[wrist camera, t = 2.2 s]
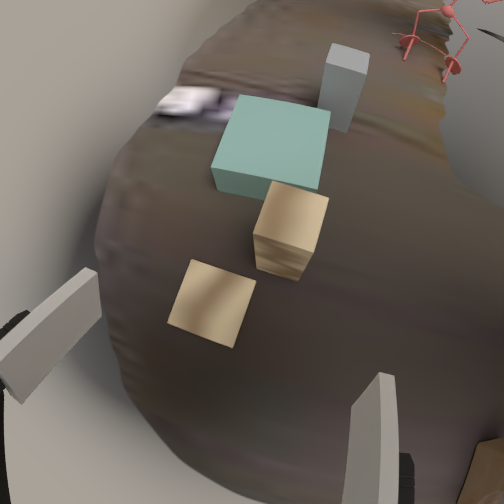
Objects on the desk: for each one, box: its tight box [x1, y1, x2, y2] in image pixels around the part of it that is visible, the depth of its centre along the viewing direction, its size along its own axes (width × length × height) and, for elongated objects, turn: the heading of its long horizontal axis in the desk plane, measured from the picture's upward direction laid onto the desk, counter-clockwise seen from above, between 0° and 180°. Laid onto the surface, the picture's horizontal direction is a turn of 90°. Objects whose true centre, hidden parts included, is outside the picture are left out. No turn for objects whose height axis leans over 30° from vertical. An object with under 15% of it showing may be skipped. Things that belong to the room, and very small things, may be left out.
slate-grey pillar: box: [317, 43, 370, 134], centre depth 36 cm, size 5×5×12 cm
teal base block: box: [211, 95, 331, 201], centre depth 37 cm, size 12×12×6 cm
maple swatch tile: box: [167, 259, 256, 348], centre depth 35 cm, size 8×8×1 cm
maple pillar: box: [253, 181, 329, 282], centre depth 30 cm, size 5×5×12 cm
